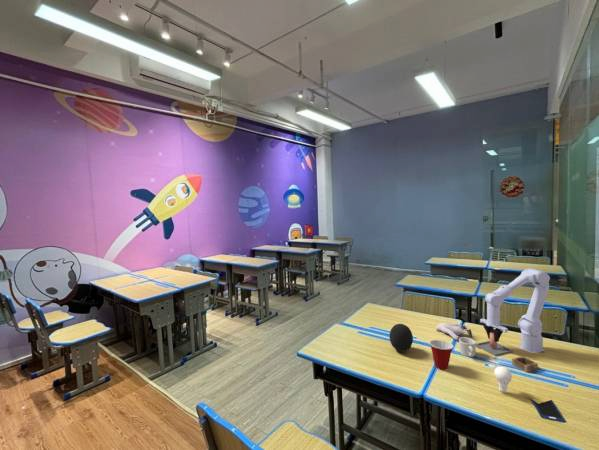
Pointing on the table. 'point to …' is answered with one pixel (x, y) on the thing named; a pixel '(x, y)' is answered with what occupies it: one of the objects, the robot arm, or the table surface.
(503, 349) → the tray
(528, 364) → the holder
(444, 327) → the yeti figurine
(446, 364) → the plastic cup
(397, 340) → the decorative egg
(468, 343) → the cup
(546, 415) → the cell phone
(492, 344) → the pink rounded capsule
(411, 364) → the table surface
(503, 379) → the lightbulb
